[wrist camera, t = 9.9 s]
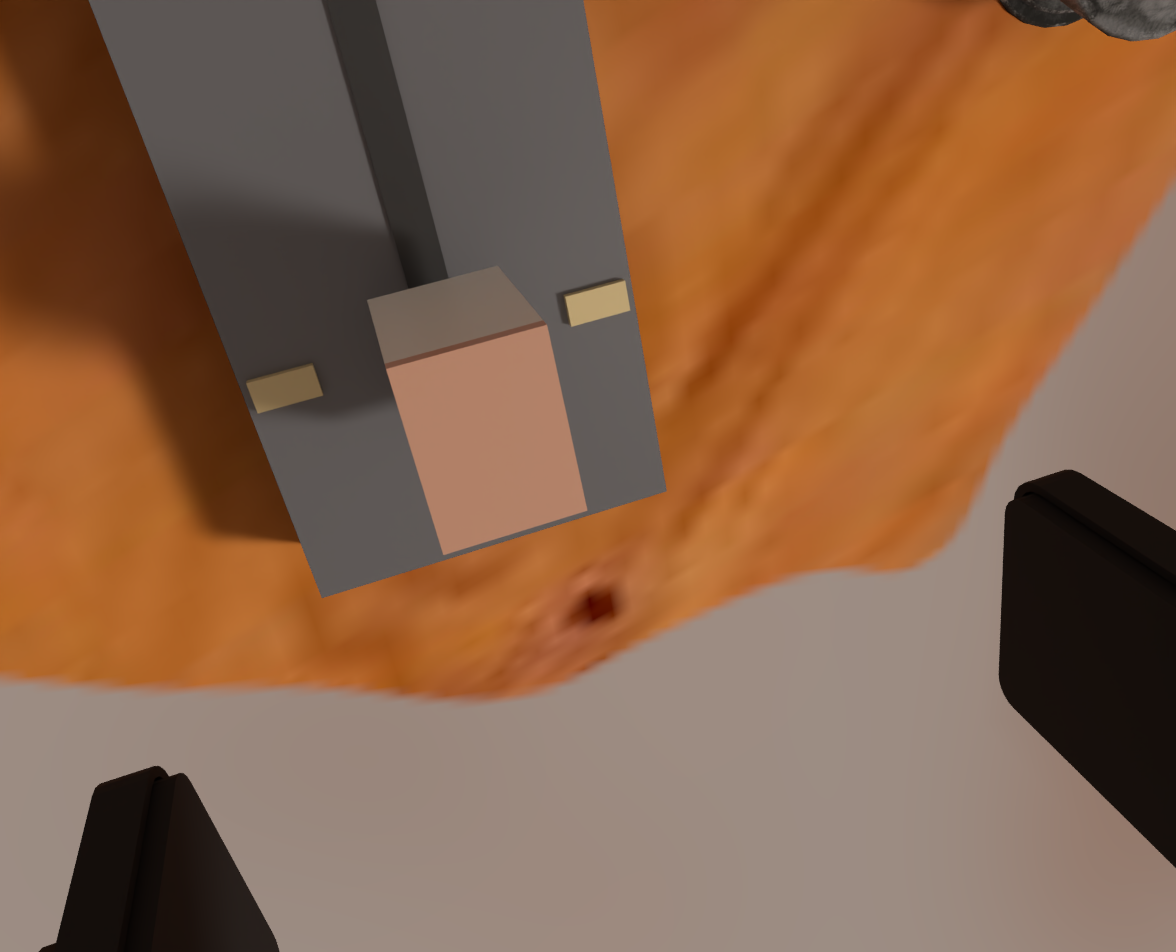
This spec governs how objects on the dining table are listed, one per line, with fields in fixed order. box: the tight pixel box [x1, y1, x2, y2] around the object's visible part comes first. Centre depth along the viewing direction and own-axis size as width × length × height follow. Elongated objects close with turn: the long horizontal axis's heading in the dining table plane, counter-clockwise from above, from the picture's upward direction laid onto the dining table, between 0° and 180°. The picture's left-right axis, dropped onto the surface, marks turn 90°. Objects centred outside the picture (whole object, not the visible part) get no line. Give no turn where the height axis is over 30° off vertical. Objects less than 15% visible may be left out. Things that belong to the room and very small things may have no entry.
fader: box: [367, 266, 587, 555], centre depth 21 cm, size 4×3×6 cm
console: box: [89, 0, 666, 598], centre depth 22 cm, size 26×10×3 cm, turn 11°
